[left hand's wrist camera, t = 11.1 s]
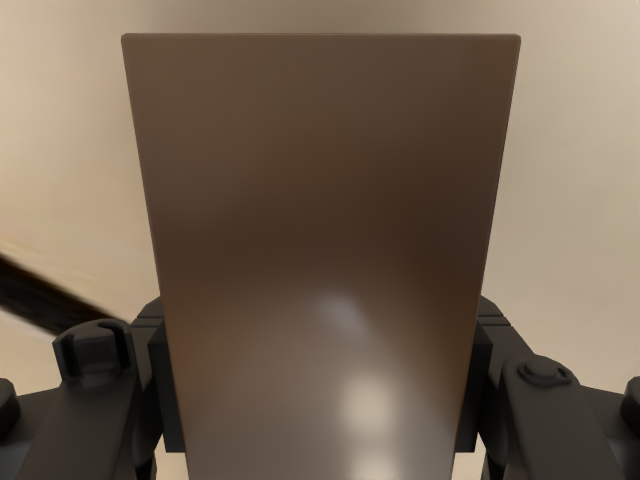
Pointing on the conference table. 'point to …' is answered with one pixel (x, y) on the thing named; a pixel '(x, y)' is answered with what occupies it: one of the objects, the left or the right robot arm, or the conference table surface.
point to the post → (320, 240)
